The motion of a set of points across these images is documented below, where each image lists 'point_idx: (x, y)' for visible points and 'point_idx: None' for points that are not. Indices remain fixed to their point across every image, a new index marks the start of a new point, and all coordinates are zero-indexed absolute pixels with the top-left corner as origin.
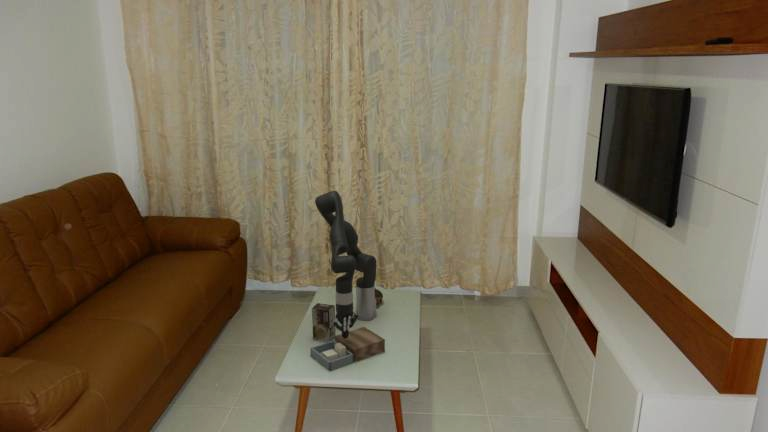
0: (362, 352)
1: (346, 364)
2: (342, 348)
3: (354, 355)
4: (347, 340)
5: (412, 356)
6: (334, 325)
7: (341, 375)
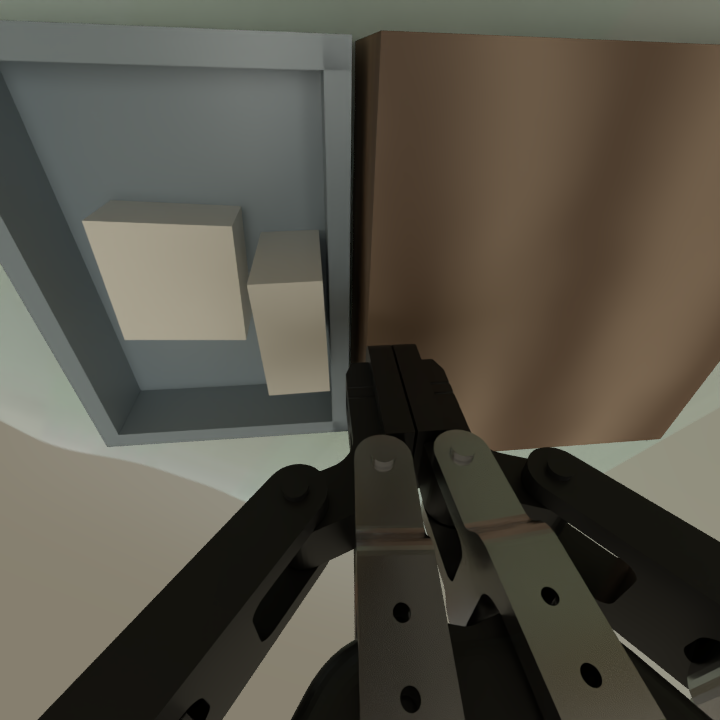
0: None
1: None
2: (286, 391)
3: None
4: (431, 297)
5: (623, 460)
6: (142, 641)
7: (197, 451)
